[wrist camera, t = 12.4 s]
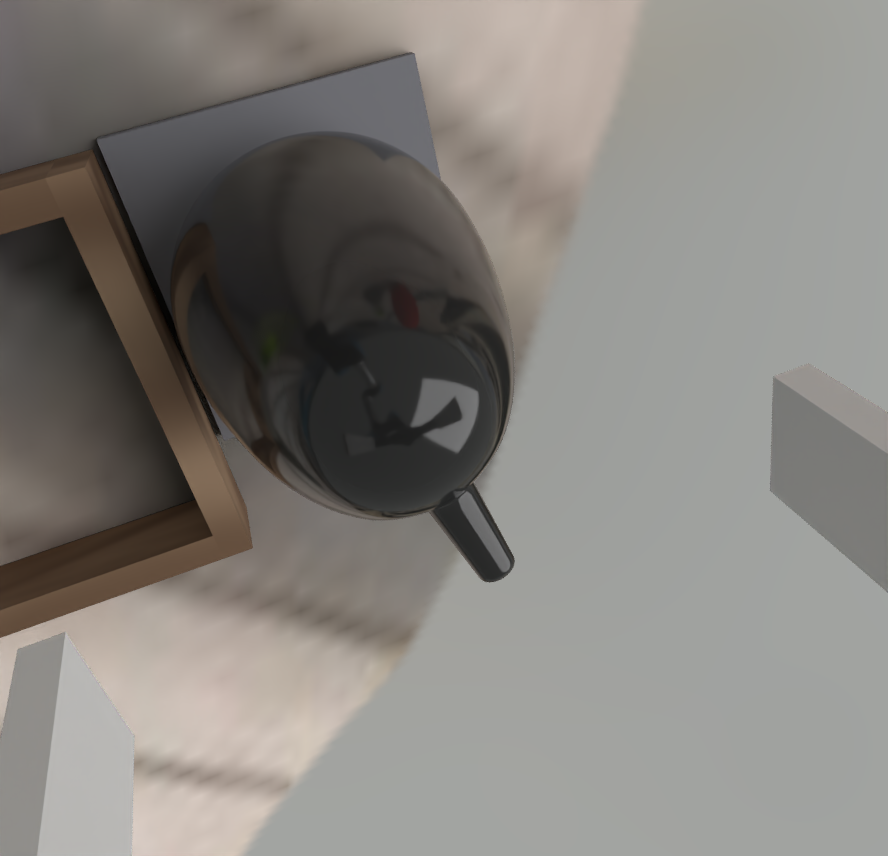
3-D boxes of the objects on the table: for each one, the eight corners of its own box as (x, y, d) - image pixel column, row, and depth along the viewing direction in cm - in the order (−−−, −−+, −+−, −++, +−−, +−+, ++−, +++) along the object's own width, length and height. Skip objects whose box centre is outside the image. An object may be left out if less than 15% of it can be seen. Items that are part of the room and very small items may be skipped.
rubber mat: (97, 137, 27) (96, 140, 26) (410, 52, 28) (414, 53, 28) (223, 434, 33) (223, 440, 33) (473, 351, 35) (477, 356, 34)
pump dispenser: (277, 430, 33) (348, 713, 21) (105, 215, 28) (56, 420, 15) (488, 298, 33) (689, 498, 21) (359, 54, 28) (528, 122, 15)
